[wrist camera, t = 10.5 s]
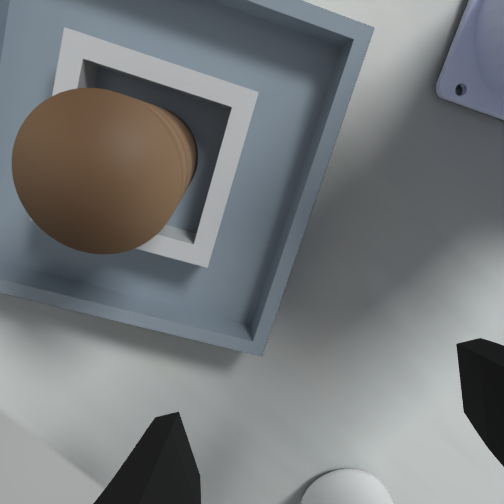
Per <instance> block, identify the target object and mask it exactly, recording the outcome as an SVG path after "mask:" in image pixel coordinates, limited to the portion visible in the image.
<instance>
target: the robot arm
mask: <svg viewBox="0 0 504 504" xmlns="http://www.w3.org/2000/svg"><path fill="white" fill-rule="evenodd" d="M458 84H459V85H460V86H461V87H462V93H461V94H460V96H458V95H456V92H455V88H456V86H457V85H458ZM436 93H437V94H438V96H439V97H441V98H442V99H445V100H448V101H451V102H453V103H456V104H459V105H462V106H465V107H468V108H470V109H473V110H476V111H479V112H482V113H485V114H487V115H490V116H493V117H496V118H499V119H501V120H504V0H469V1H468V3H467V6H466V9H465V11H464V14H463V16H462V19H461V21H460V24H459V27H458V29H457V32H456V34H455V37H454V40H453V42H452V45H451V47H450V50H449V52H448V55H447V58H446V60H445V63H444V65H443V68H442V70H441V73H440V76H439V78H438V81H437V83H436ZM457 353H458V362H459V372H460V381H461V390H462V399H463V408H464V413H465V414H466V416H467V417H468V419H469V420H470V422H471V424H472V425H473V427H474V428H475V430H476V431H477V433H478V434H479V436H480V437H481V438H482V440H483V441H484V443H485V444H486V446H487V447H488V448H489V450H490V451H491V452H492V453H493V454H494V456H495V457H496V458H497V459H498V460H499V462H500V463H501V464H502V465H503V466H504V346H503V345H500V344H497V343H494V342H491V341H488V340H485V339H481V338H479V339H475V340H471V341H467V342H462V343H458V344H457ZM94 504H201V489H200V474H199V471H198V468H197V465H196V462H195V459H194V456H193V453H192V450H191V447H190V444H189V441H188V438H187V435H186V432H185V429H184V426H183V423H182V420H181V417H180V414H179V412H176V413H172V414H168V415H164V416H160V417H155V419H154V420H153V422H152V423H151V424H150V426H149V427H148V429H147V430H146V432H145V433H144V435H143V436H142V437H141V439H140V440H139V442H138V443H137V445H136V446H135V448H134V449H133V451H132V452H131V454H130V455H129V456H128V458H127V459H126V461H125V462H124V464H123V465H122V466H121V468H120V469H119V471H118V472H117V473H116V475H115V476H114V478H113V479H112V481H111V482H110V483H109V484H108V486H107V487H106V488H105V490H104V491H103V492H102V494H101V495H100V496H99V497H98V499H97V500H96V501H95V503H94Z"/></svg>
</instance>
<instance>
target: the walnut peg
mask: <svg viewBox="0 0 504 504" xmlns="http://www.w3.org/2000/svg"><path fill="white" fill-rule="evenodd" d="M197 166H198V148H197V144H196V140H195V138H194V135H193V133H192V132H191V130H190V128H189V127H188V126H187V124H186V123H185V122H184V121H183V120H182V119H181V118H180V117H178V116H177V115H176V114H174V113H173V112H171V111H169V110H167V109H164V108H162V107H159V106H156V105H153V104H150V103H147V102H144V101H141V100H138V99H135V98H132V97H129V96H126V95H123V94H120V93H117V92H113V91H110V90H106V89H99V88H78V89H71V90H67V91H64V92H60V93H58V94H56V95H54V96H51V97H50V98H48V99H46V100H45V101H43V102H42V103H40V104H39V105H38V106H37V107H36V108H35V109H33V111H32V112H31V113H30V114H29V115H28V116H27V117H26V119H25V120H24V122H23V124H22V125H21V127H20V129H19V131H18V134H17V136H16V139H15V142H14V146H13V151H12V175H13V181H14V185H15V189H16V192H17V194H18V197H19V199H20V201H21V203H22V205H23V207H24V208H25V210H26V212H27V213H28V215H29V216H30V217H31V219H32V220H33V221H34V222H35V223H36V224H37V225H38V226H39V228H40V229H42V230H43V231H44V232H45V233H46V234H48V235H49V236H50V237H52V238H53V239H55V240H56V241H58V242H59V243H61V244H63V245H65V246H67V247H70V248H72V249H75V250H78V251H82V252H86V253H91V254H116V253H122V252H126V251H129V250H132V249H134V248H137V247H139V246H141V245H143V244H145V243H146V242H148V241H149V240H151V239H152V238H153V237H154V236H156V235H157V234H158V233H159V232H160V231H161V230H162V229H163V227H164V226H165V225H166V223H167V222H168V221H169V219H170V217H171V216H172V214H173V212H174V211H175V209H176V207H177V205H178V204H179V202H180V200H181V198H182V197H183V195H184V193H185V192H186V190H187V188H188V186H189V185H190V183H191V181H192V179H193V177H194V175H195V173H196V170H197Z"/></svg>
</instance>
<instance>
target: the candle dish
mask: <svg viewBox="0 0 504 504" xmlns="http://www.w3.org/2000/svg"><path fill="white" fill-rule="evenodd" d="M373 31H374V27H372V26H369V25H366V24H363V23H361V22H358V21H355V20H353V19H350V18H347V17H345V16H342V15H339V14H337V13H334V12H331V11H328V10H326V9H323V8H320V7H318V6H315V5H312V4H310V3H307V2H304V1H301V0H0V293H3V294H7V295H11V296H15V297H19V298H23V299H27V300H31V301H35V302H40V303H44V304H48V305H52V306H56V307H60V308H64V309H68V310H72V311H77V312H81V313H85V314H89V315H93V316H97V317H101V318H105V319H110V320H114V321H118V322H122V323H126V324H130V325H134V326H138V327H142V328H147V329H151V330H155V331H159V332H163V333H167V334H171V335H175V336H179V337H184V338H188V339H192V340H196V341H200V342H204V343H208V344H212V345H217V346H221V347H225V348H229V349H233V350H237V351H241V352H245V353H249V354H254V355H258V356H262V355H263V352H264V349H265V346H266V343H267V340H268V337H269V334H270V331H271V328H272V325H273V322H274V320H275V317H276V314H277V311H278V308H279V305H280V302H281V299H282V296H283V293H284V290H285V288H286V285H287V282H288V279H289V276H290V273H291V270H292V267H293V264H294V261H295V258H296V255H297V253H298V250H299V247H300V244H301V241H302V238H303V235H304V232H305V229H306V226H307V223H308V221H309V218H310V215H311V212H312V209H313V206H314V203H315V200H316V197H317V194H318V191H319V188H320V186H321V183H322V180H323V177H324V174H325V171H326V168H327V165H328V162H329V159H330V156H331V154H332V151H333V148H334V145H335V142H336V139H337V136H338V133H339V130H340V127H341V124H342V121H343V119H344V116H345V113H346V110H347V107H348V104H349V101H350V98H351V95H352V92H353V89H354V87H355V84H356V81H357V78H358V75H359V72H360V69H361V66H362V63H363V60H364V57H365V54H366V52H367V49H368V46H369V43H370V40H371V37H372V34H373ZM78 88H99V89H106V90H110V91H113V92H117V93H120V94H123V95H126V96H129V97H132V98H135V99H138V100H141V101H144V102H147V103H150V104H153V105H156V106H159V107H162V108H164V109H167V110H169V111H171V112H173V113H174V114H176V115H177V116H178V117H180V118H181V119H182V120H183V121H184V122H185V123H186V124H187V126H188V127H189V128H190V130H191V132H192V133H193V135H194V138H195V140H196V144H197V148H198V166H197V170H196V173H195V175H194V177H193V179H192V181H191V183H190V185H189V186H188V188H187V190H186V192H185V193H184V195H183V197H182V198H181V200H180V202H179V204H178V205H177V207H176V209H175V211H174V212H173V214H172V216H171V217H170V219H169V221H168V222H167V223H166V225H165V226H164V227H163V229H162V230H161V231H160V232H159V233H158V234H157V235H156V236H154V237H153V238H152V239H151V240H149V241H148V242H146V243H145V244H143V245H141V246H139V247H137V248H134V249H132V250H129V251H126V252H122V253H116V254H91V253H86V252H82V251H78V250H75V249H72V248H70V247H67V246H65V245H63V244H61V243H59V242H58V241H56V240H55V239H53V238H52V237H50V236H49V235H48V234H46V233H45V232H44V231H43V230H42V229H40V228H39V226H38V225H37V224H36V223H35V222H34V221H33V220H32V219H31V217H30V216H29V215H28V213H27V212H26V210H25V208H24V207H23V205H22V203H21V201H20V199H19V197H18V194H17V192H16V189H15V185H14V181H13V175H12V151H13V146H14V142H15V139H16V136H17V134H18V131H19V129H20V127H21V125H22V124H23V122H24V120H25V119H26V117H27V116H28V115H29V114H30V113H31V112H32V111H33V109H35V108H36V107H37V106H38V105H39V104H40V103H42V102H43V101H45V100H46V99H48V98H50V97H51V96H54V95H56V94H58V93H60V92H64V91H67V90H71V89H78Z"/></svg>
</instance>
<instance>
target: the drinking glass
mask: <svg viewBox="0 0 504 504" xmlns="http://www.w3.org/2000/svg"><path fill="white" fill-rule="evenodd" d="M301 504H395V503H394V501H393V499H392V497H391V495H390V493H389V491H388V489H387V488H386V486H385V485H384V484H383V483H382V482H381V481H380V480H379V479H378V478H377V477H375V476H374V475H372V474H370V473H368V472H366V471H363V470H358V469H339V470H335V471H331V472H329V473H326V474H324V475H323V476H321V477H319V478H318V479H317V480H315V481H314V482H313V483H312V484H311V485H310V486H309V487H308V489H307V490H306V492H305V494H304V495H303V498H302V500H301Z"/></svg>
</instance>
